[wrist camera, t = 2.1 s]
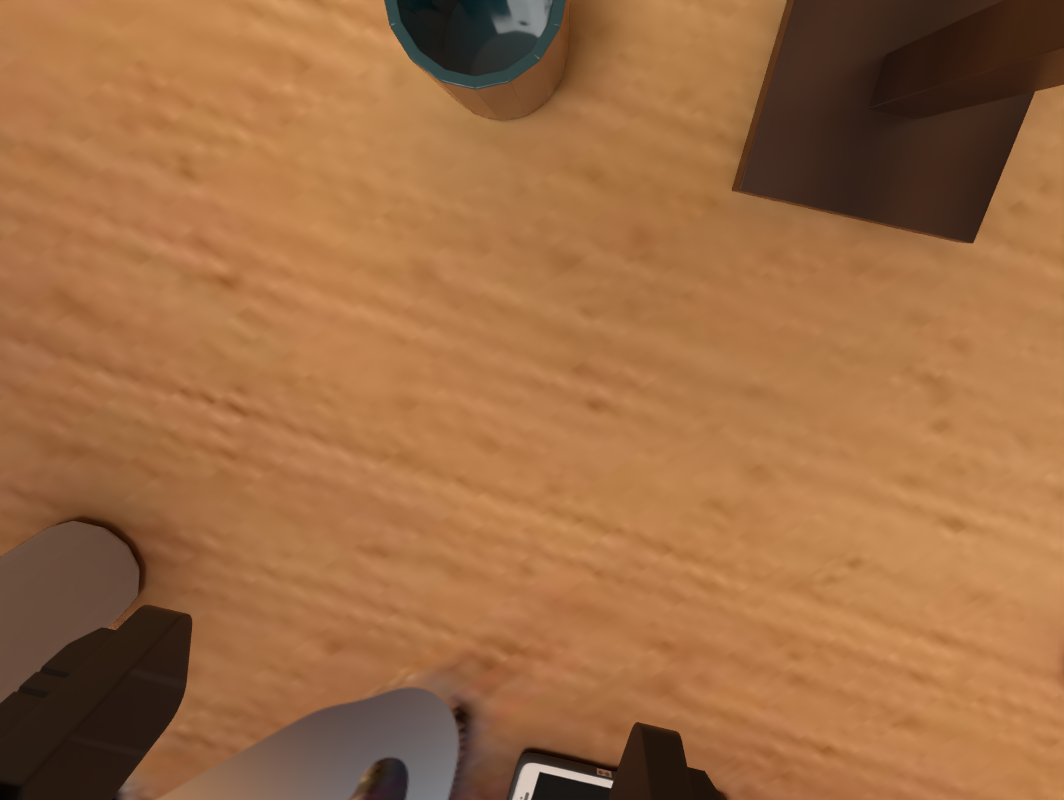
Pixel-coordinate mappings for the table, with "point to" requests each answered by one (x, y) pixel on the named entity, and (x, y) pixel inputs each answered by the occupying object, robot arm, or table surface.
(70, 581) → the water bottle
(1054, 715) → the table surface
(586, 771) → the cell phone
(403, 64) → the table surface
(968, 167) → the mug stand
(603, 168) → the table surface
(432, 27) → the mug
